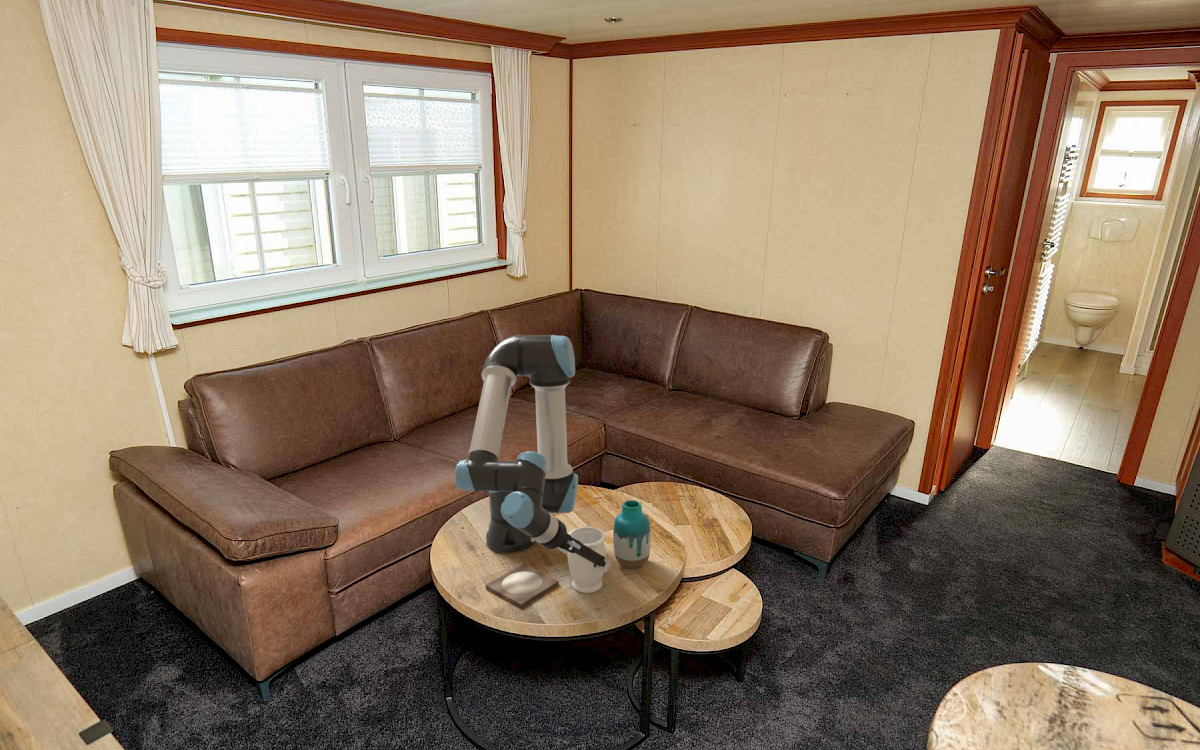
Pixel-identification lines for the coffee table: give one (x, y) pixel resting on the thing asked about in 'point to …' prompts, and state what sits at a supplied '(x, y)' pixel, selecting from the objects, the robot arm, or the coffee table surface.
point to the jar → (581, 568)
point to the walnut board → (522, 585)
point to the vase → (632, 535)
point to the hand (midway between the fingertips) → (588, 559)
